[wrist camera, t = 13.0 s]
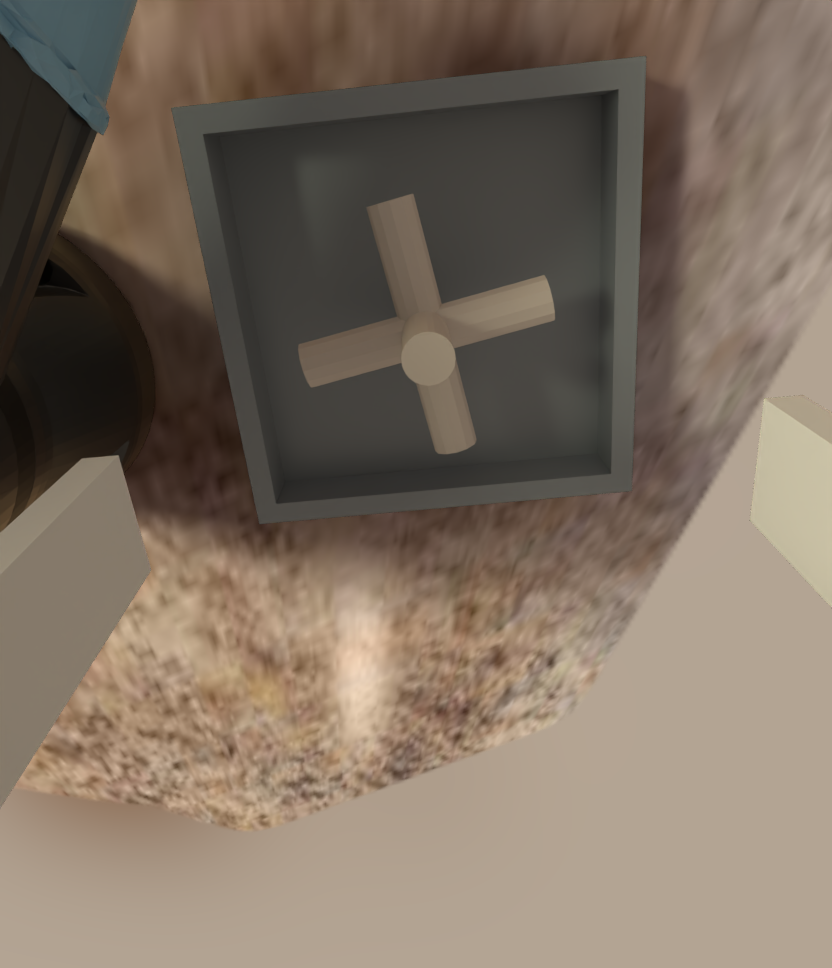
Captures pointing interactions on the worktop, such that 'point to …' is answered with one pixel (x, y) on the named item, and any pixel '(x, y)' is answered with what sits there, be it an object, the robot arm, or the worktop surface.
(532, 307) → the pipe connector
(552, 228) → the tray
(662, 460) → the worktop surface
